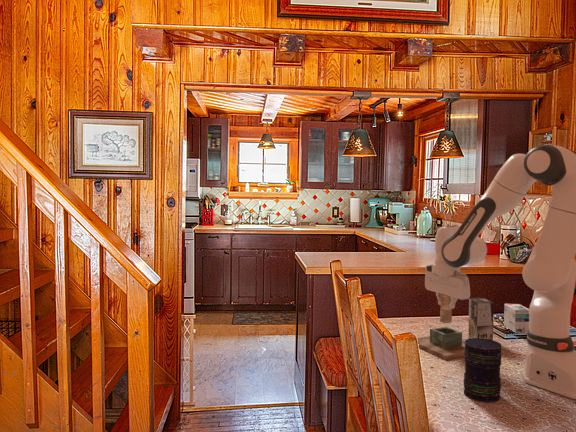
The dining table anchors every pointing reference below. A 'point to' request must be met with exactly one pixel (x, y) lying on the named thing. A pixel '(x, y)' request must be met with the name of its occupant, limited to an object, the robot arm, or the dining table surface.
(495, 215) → the robot arm
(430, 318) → the dining table surface
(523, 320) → the light bulb box
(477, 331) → the coffee box
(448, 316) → the peg
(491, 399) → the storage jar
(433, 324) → the dining table surface
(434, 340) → the holder
